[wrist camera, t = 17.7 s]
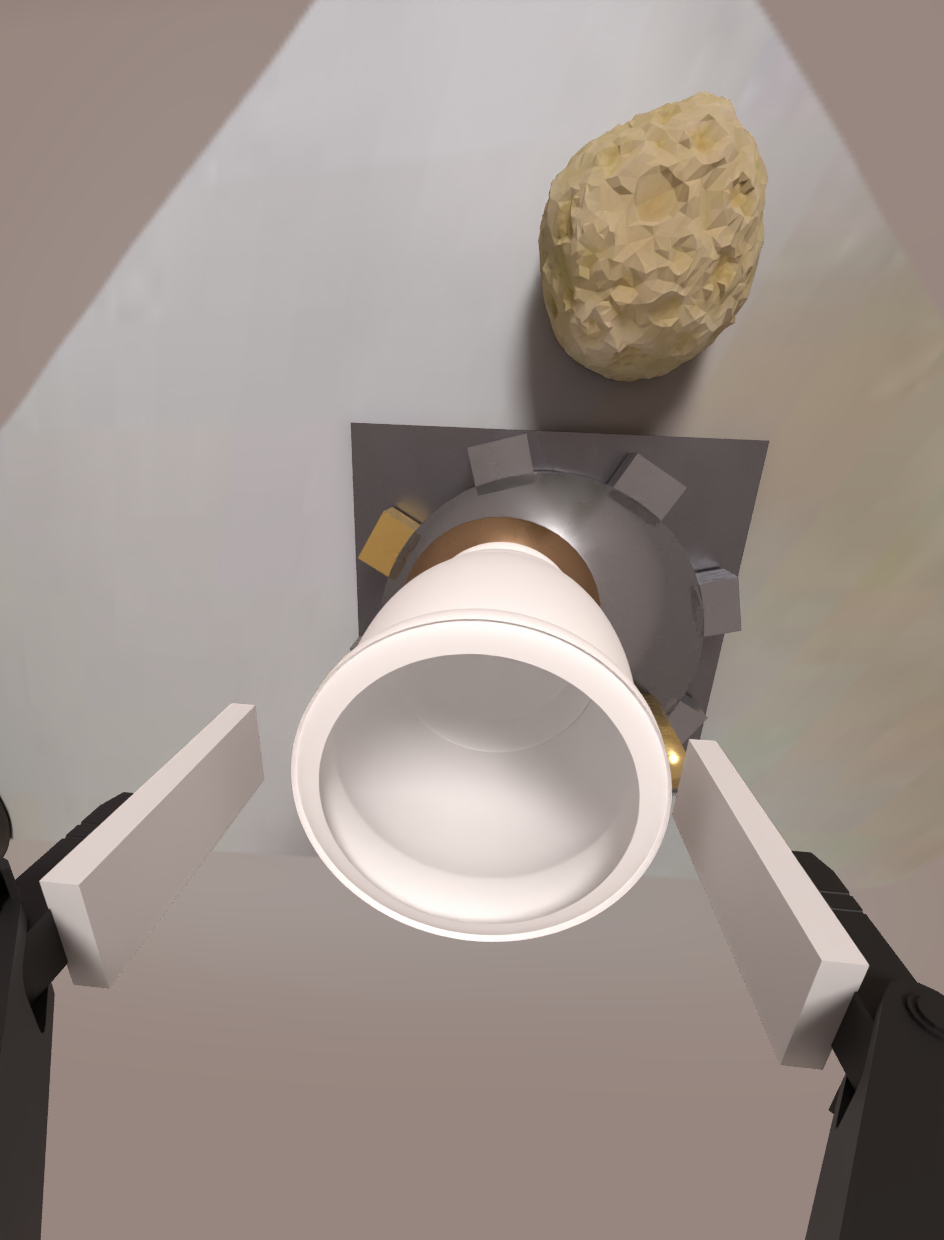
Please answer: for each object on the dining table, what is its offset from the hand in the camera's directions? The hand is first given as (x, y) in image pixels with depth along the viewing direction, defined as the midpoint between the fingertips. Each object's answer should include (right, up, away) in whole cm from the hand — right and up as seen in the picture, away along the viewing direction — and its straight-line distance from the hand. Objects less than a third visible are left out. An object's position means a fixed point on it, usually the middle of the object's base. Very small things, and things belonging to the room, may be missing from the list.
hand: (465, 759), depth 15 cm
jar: (+2, +4, +12) cm, 13 cm away
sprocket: (+4, +4, +15) cm, 16 cm away
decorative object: (+8, +21, +10) cm, 24 cm away
